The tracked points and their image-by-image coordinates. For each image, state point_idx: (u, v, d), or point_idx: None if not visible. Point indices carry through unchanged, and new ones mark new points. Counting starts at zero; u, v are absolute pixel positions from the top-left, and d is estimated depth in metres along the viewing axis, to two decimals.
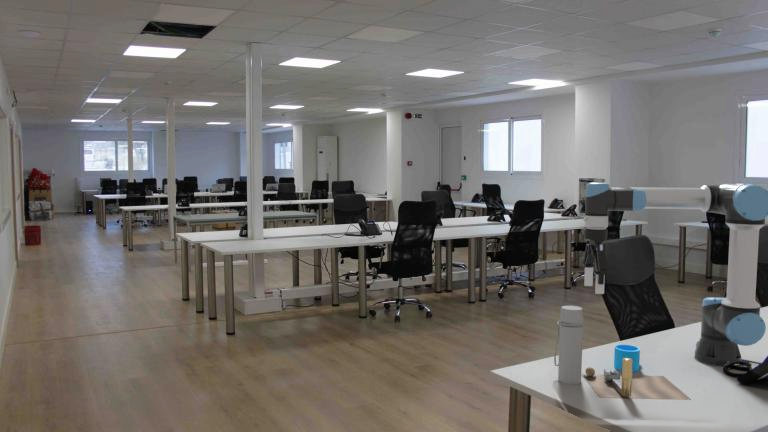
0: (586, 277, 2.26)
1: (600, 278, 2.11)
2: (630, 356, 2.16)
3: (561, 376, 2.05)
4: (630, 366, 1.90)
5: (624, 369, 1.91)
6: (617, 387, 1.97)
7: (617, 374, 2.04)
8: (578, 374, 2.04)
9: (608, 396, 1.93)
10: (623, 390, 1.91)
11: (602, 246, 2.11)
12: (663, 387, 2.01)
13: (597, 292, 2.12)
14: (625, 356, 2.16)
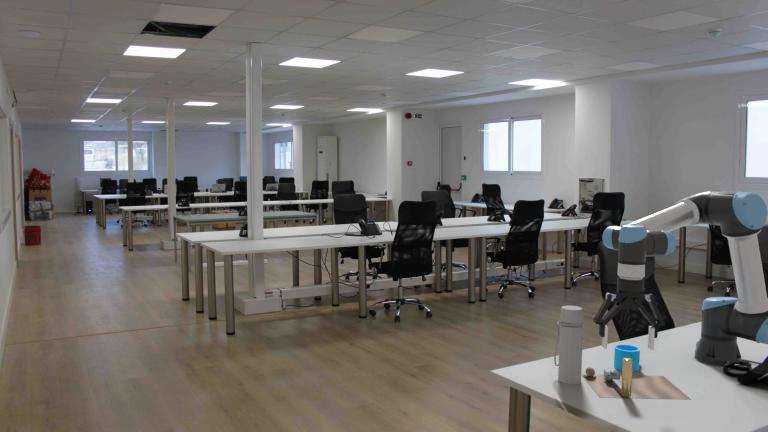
0: (648, 337, 1.91)
1: (599, 329, 1.91)
2: (630, 356, 2.16)
3: (561, 376, 2.05)
4: (630, 366, 1.90)
5: (624, 369, 1.91)
6: (617, 387, 1.97)
7: (617, 374, 2.04)
8: (578, 374, 2.04)
9: (608, 396, 1.93)
10: (623, 390, 1.91)
11: (607, 295, 1.89)
12: (663, 387, 2.01)
13: (602, 345, 1.92)
14: (625, 356, 2.16)
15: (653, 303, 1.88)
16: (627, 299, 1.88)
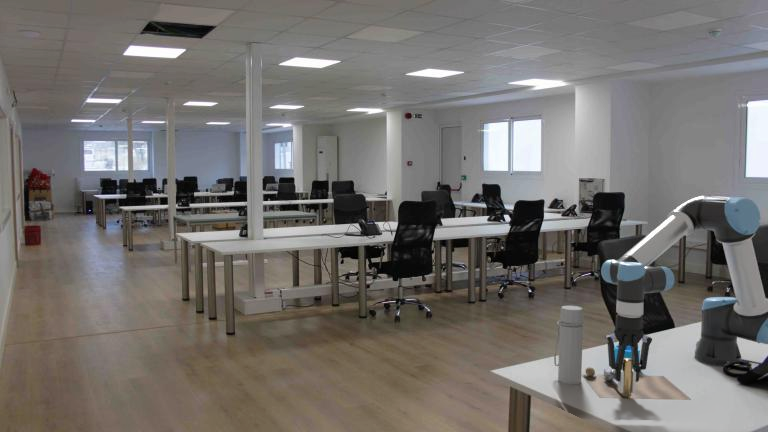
0: None
1: (615, 373, 1.92)
2: (630, 356, 2.16)
3: (561, 376, 2.05)
4: (630, 366, 1.90)
5: (624, 369, 1.91)
6: (617, 387, 1.97)
7: None
8: (578, 374, 2.04)
9: (608, 396, 1.93)
10: (623, 390, 1.91)
11: (607, 339, 1.90)
12: (663, 387, 2.01)
13: (618, 389, 1.93)
14: (625, 356, 2.16)
15: (647, 346, 1.89)
16: (625, 337, 1.89)
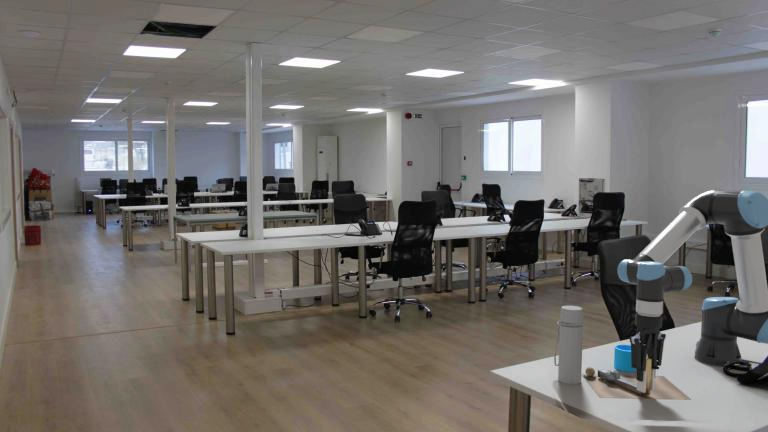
0: None
1: (637, 374, 1.92)
2: (630, 356, 2.16)
3: (561, 376, 2.05)
4: (651, 364, 1.92)
5: (645, 368, 1.91)
6: (630, 387, 1.97)
7: (617, 373, 2.05)
8: (578, 374, 2.04)
9: (608, 396, 1.93)
10: None
11: (633, 340, 1.89)
12: (663, 387, 2.01)
13: (638, 389, 1.93)
14: (625, 356, 2.16)
15: (662, 342, 1.93)
16: (650, 336, 1.89)
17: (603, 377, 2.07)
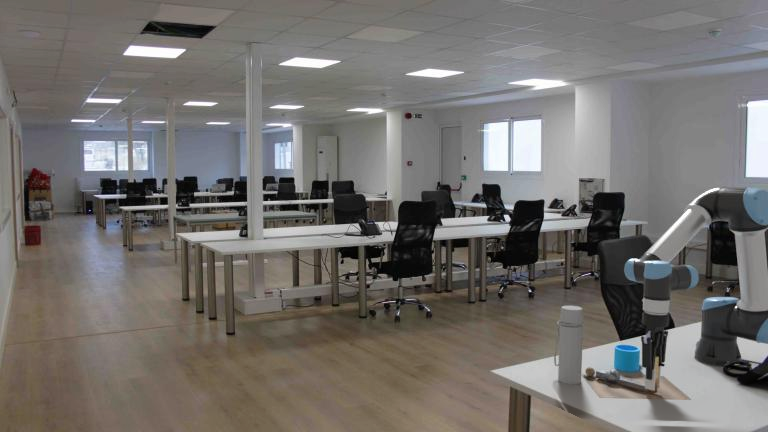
0: None
1: (647, 372, 1.93)
2: (630, 356, 2.16)
3: (561, 376, 2.05)
4: (658, 362, 1.94)
5: (654, 366, 1.93)
6: (635, 386, 1.98)
7: (616, 373, 2.05)
8: (578, 374, 2.04)
9: (608, 396, 1.93)
10: None
11: (646, 340, 1.89)
12: (663, 387, 2.01)
13: (646, 387, 1.94)
14: (625, 356, 2.16)
15: (666, 339, 1.97)
16: (659, 334, 1.91)
17: (603, 378, 2.06)
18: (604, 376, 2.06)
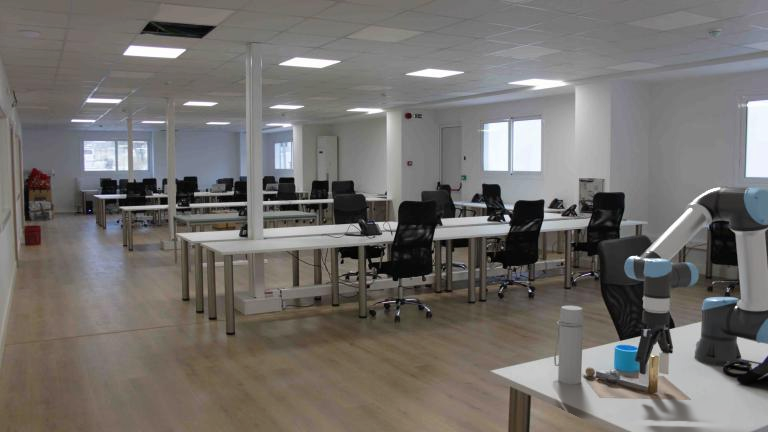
0: (660, 363, 2.00)
1: (640, 367, 1.89)
2: (630, 356, 2.16)
3: (561, 376, 2.05)
4: (658, 362, 1.94)
5: (654, 366, 1.93)
6: (635, 386, 1.98)
7: (616, 373, 2.05)
8: (578, 374, 2.04)
9: (608, 396, 1.93)
10: (653, 387, 1.94)
11: (646, 332, 1.89)
12: (663, 387, 2.01)
13: (640, 381, 1.91)
14: (625, 356, 2.16)
15: (668, 331, 1.98)
16: (659, 332, 1.92)
17: (603, 378, 2.06)
18: (604, 376, 2.06)
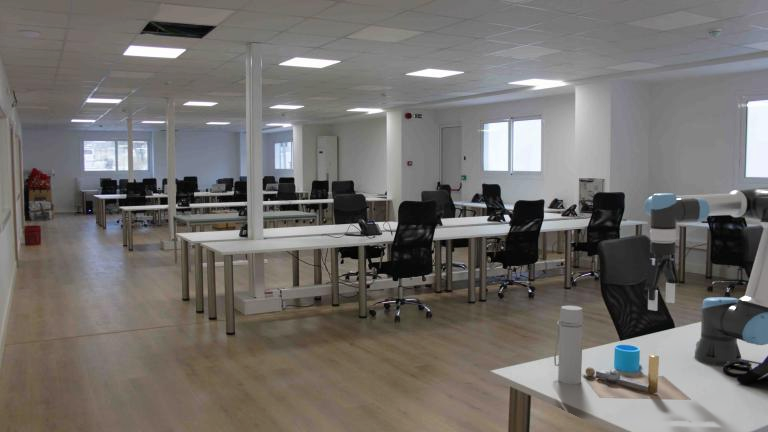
0: (667, 293, 2.13)
1: (649, 293, 2.02)
2: (630, 356, 2.16)
3: (561, 376, 2.05)
4: (658, 362, 1.94)
5: (654, 366, 1.93)
6: (635, 386, 1.98)
7: (616, 373, 2.05)
8: (578, 374, 2.04)
9: (608, 396, 1.93)
10: (653, 387, 1.94)
11: (654, 260, 2.01)
12: (663, 387, 2.01)
13: (649, 308, 2.03)
14: (625, 356, 2.16)
15: (674, 262, 2.10)
16: (666, 261, 2.04)
17: (603, 378, 2.06)
18: (604, 376, 2.06)
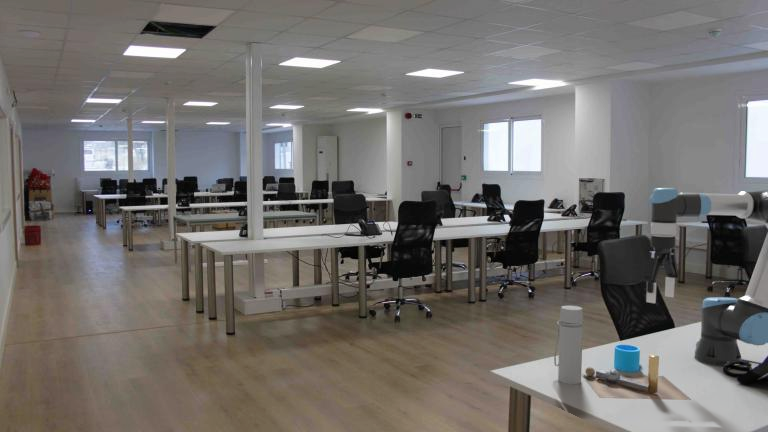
0: (666, 287, 2.15)
1: (648, 286, 2.04)
2: (630, 356, 2.16)
3: (561, 376, 2.05)
4: (658, 362, 1.94)
5: (654, 366, 1.93)
6: (635, 386, 1.98)
7: (616, 373, 2.05)
8: (578, 374, 2.04)
9: (608, 396, 1.93)
10: (653, 387, 1.94)
11: (654, 253, 2.04)
12: (663, 387, 2.01)
13: (647, 300, 2.06)
14: (625, 356, 2.16)
15: (674, 256, 2.13)
16: (666, 255, 2.06)
17: (603, 378, 2.06)
18: (604, 376, 2.06)
